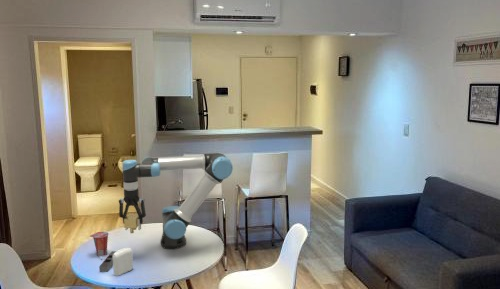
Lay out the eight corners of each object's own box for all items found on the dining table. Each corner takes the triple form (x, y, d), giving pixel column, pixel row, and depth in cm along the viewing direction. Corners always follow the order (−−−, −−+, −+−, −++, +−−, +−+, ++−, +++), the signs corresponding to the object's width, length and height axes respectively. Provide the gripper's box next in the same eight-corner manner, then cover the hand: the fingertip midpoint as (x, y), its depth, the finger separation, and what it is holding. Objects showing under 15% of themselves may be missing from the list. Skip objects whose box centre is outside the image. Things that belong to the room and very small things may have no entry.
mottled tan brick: (141, 227, 228) (140, 213, 226) (136, 234, 219) (136, 219, 217) (130, 227, 228) (129, 213, 226) (124, 234, 219) (123, 219, 217)
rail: (112, 256, 229) (111, 251, 228) (119, 256, 229) (118, 251, 228) (99, 272, 211) (99, 266, 210) (107, 272, 211) (106, 266, 210)
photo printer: (117, 277, 206) (115, 254, 204) (112, 274, 209) (110, 251, 206) (134, 269, 214) (133, 247, 211) (129, 266, 216) (128, 245, 214)
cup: (105, 249, 237) (104, 230, 235) (112, 254, 231) (111, 234, 229) (89, 254, 231) (88, 234, 228) (96, 259, 225) (94, 239, 222)
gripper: (150, 186, 222) (152, 226, 227) (115, 186, 223) (118, 226, 227) (147, 190, 215) (149, 232, 219) (110, 190, 216) (113, 231, 220)
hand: (133, 229), depth 223 cm, fingers closed on mottled tan brick, 6 cm apart
